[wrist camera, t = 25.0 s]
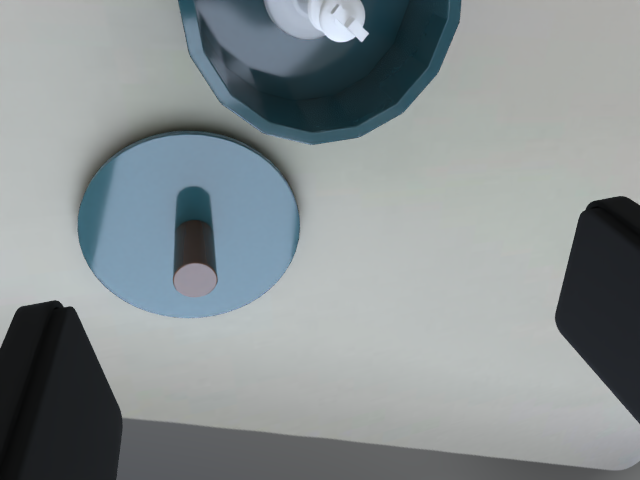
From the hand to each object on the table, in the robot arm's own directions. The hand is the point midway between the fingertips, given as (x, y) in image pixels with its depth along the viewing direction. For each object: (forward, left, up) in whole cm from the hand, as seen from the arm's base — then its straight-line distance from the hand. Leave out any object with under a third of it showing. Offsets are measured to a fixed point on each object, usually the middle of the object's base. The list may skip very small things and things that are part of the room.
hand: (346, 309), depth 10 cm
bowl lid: (+5, +12, -24) cm, 27 cm away
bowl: (-4, -2, -24) cm, 25 cm away
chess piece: (-4, -2, -24) cm, 24 cm away
